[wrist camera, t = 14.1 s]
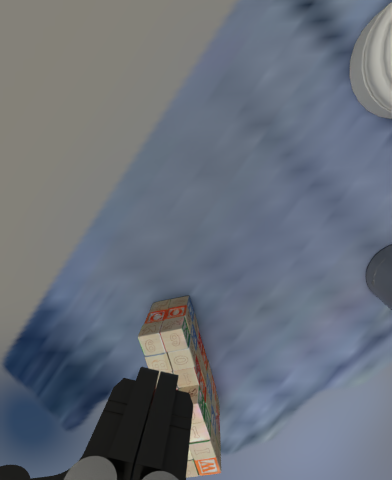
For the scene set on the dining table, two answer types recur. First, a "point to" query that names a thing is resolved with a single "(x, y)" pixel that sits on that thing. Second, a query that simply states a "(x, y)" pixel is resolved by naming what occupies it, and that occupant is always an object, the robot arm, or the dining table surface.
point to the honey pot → (374, 65)
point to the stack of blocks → (186, 376)
